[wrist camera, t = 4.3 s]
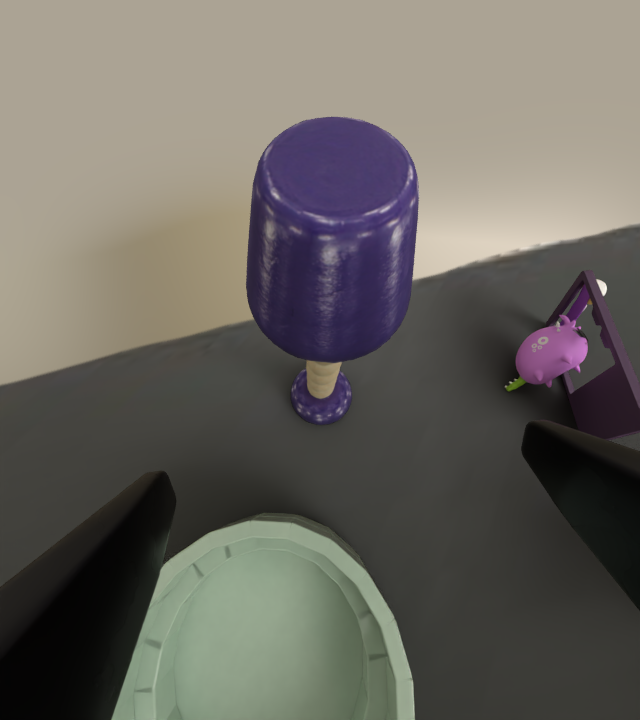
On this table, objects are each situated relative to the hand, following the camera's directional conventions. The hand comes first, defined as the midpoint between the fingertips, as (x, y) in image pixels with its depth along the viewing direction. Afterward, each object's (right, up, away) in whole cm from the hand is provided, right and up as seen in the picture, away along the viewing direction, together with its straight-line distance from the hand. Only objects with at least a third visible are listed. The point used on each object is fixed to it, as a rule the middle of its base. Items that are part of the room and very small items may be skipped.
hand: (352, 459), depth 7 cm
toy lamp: (-1, 0, +13) cm, 13 cm away
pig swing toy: (+14, +1, +14) cm, 20 cm away
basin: (-3, -12, +8) cm, 15 cm away
